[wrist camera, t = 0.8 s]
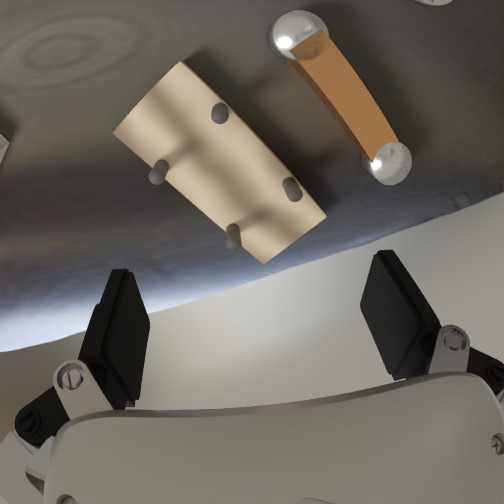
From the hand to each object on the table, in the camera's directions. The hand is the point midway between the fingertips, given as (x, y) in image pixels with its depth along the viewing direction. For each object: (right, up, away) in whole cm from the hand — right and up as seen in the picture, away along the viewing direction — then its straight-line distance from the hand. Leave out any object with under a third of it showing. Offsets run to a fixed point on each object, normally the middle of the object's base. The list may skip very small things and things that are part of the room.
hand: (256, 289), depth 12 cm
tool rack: (-3, +11, +22) cm, 24 cm away
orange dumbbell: (+9, +18, +18) cm, 27 cm away
